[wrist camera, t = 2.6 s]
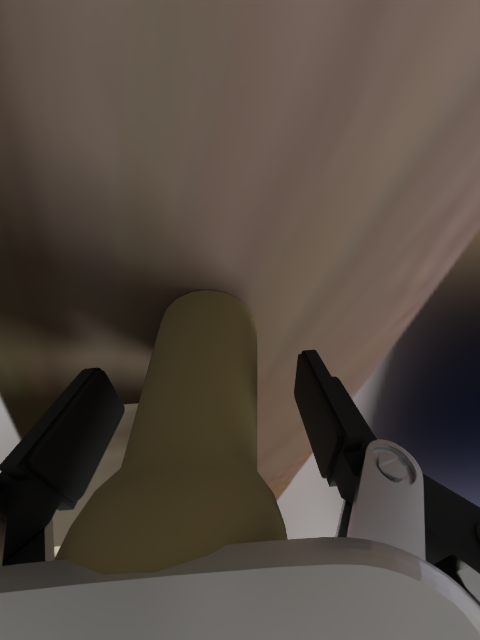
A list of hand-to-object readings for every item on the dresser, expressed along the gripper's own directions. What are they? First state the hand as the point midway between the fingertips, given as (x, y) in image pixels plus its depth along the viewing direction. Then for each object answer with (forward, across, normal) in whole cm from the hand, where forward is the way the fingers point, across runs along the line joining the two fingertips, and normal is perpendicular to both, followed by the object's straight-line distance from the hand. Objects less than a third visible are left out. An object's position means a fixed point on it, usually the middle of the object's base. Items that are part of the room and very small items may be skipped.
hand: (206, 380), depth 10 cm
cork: (+4, 0, 0) cm, 4 cm away
